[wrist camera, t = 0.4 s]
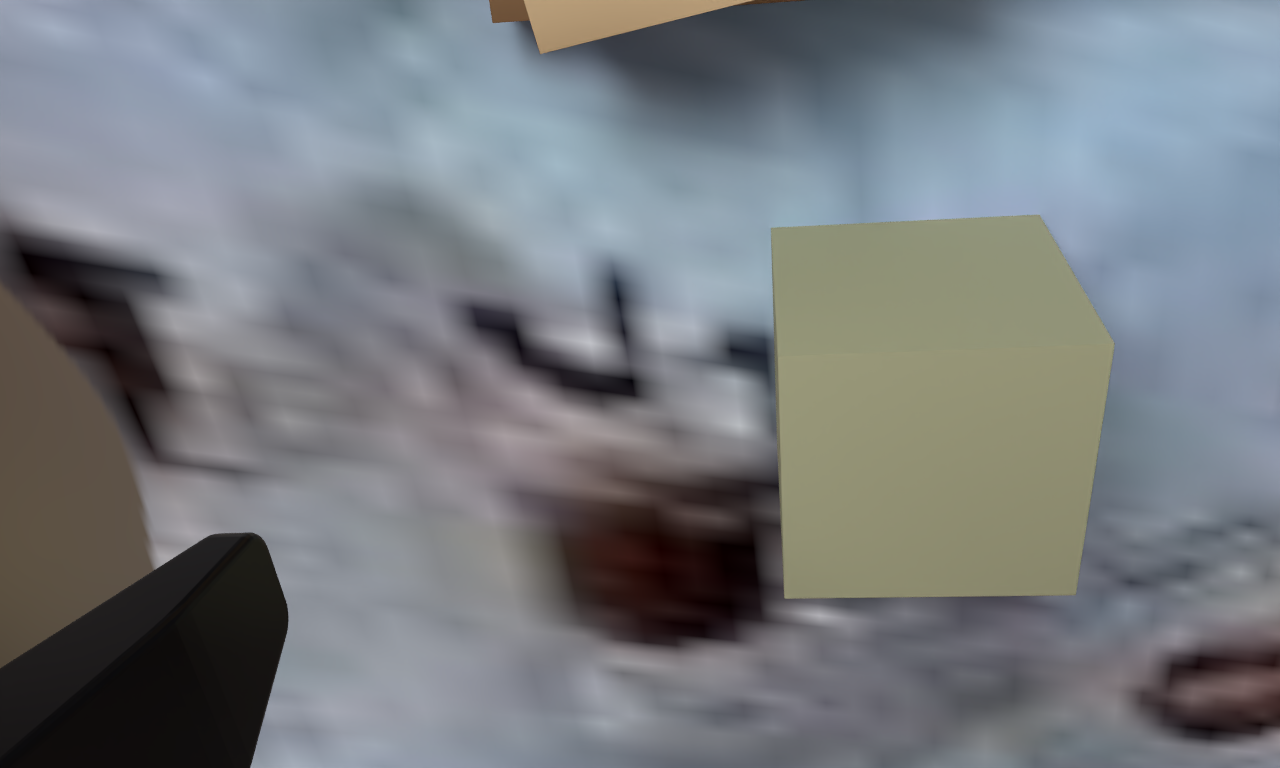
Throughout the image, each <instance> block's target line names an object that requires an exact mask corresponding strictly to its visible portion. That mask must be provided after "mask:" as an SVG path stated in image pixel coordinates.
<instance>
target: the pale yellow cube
mask: <svg viewBox="0 0 1280 768" xmlns="http://www.w3.org/2000/svg"><path fill="white" fill-rule="evenodd" d="M771 246H772V281H773V316H774V350H775V385H776V419H777V449H778V471H779V492H780V514H781V535H782V557H783V578H784V599H787V598H875V597H962V596H1049V595H1076V590H1077V583H1078V577H1079V570H1080V564H1081V558H1082V551H1083V545H1084V538H1085V532H1086V525H1087V519H1088V513H1089V506H1090V500H1091V493H1092V487H1093V480H1094V474H1095V468H1096V461H1097V455H1098V448H1099V442H1100V435H1101V429H1102V423H1103V416H1104V410H1105V403H1106V397H1107V390H1108V384H1109V378H1110V371H1111V365H1112V358H1113V352H1114V345H1115V343H1114V342H1113V340H1112V338H1111V336H1110V335H1109V333H1108V331H1107V330H1106V328H1105V326H1104V324H1103V323H1102V321H1101V319H1100V318H1099V316H1098V314H1097V313H1096V311H1095V309H1094V307H1093V306H1092V304H1091V302H1090V301H1089V299H1088V297H1087V295H1086V294H1085V292H1084V290H1083V289H1082V287H1081V285H1080V283H1079V282H1078V280H1077V278H1076V277H1075V275H1074V273H1073V271H1072V270H1071V268H1070V266H1069V265H1068V263H1067V261H1066V259H1065V258H1064V256H1063V254H1062V253H1061V251H1060V249H1059V247H1058V246H1057V244H1056V242H1055V241H1054V239H1053V237H1052V235H1051V234H1050V232H1049V230H1048V229H1047V227H1046V225H1045V223H1044V222H1043V220H1042V218H1041V217H1040V215H1022V216H1002V217H981V218H961V219H941V220H920V221H900V222H879V223H859V224H839V225H818V226H798V227H777V228H771Z"/></svg>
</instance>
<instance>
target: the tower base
mask: <svg viewBox="0 0 1280 768" xmlns="http://www.w3.org/2000/svg"><path fill="white" fill-rule="evenodd" d="M790 1H803V0H752V1H748V2H744V3H741V4H737V5H748V4H762V3H776V2H790ZM489 3H490V9H491V15H492V22H493V23H500V22H514V21H527V20H530V19H529V16H528V12H527V9H526V6H525V3H524V0H489ZM733 6H734V5H733Z"/></svg>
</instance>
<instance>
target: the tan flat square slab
mask: <svg viewBox="0 0 1280 768" xmlns="http://www.w3.org/2000/svg"><path fill="white" fill-rule="evenodd" d="M748 1H752V0H524V3H525V6H526V9H527V12H528V16H529V19H530V22H531V25H532V29H533V32H534V35H535V38H536V42H537V45H538V48H539V51H540V54H542V53H546V52H550V51H554V50H558V49H562V48H566V47H570V46H574V45H578V44H582V43H586V42H590V41H594V40H598V39H602V38H606V37H610V36H614V35H618V34H622V33H626V32H629V31H633V30H637V29H641V28H645V27H649V26H653V25H657V24H661V23H665V22H669V21H673V20H677V19H681V18H685V17H689V16H693V15H697V14H701V13H705V12H709V11H713V10H717V9H721V8H725V7H729V6H733V5H737V4H741V3H744V2H748Z"/></svg>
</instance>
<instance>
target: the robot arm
mask: <svg viewBox="0 0 1280 768" xmlns="http://www.w3.org/2000/svg"><path fill="white" fill-rule="evenodd" d="M287 630H288V608H287V604H286V600H285V597H284V594H283V591H282V588H281V585H280V583H279V580H278V577H277V574H276V571H275V568H274V565H273V562H272V559H271V556H270V553H269V550H268V548H267V545H266V543H265V541H264V540H263V539H262V538H261V537H260V536H259V535H257V534H255V533H221V534H213V535H210V536H208V537H206V538H204V539H203V540H201V541H200V542H198V543H197V544H195V545H193V546H192V547H190V548H189V549H187V550H186V551H184V552H182V553H181V554H179V555H178V556H176V557H175V558H173V559H171V560H170V561H168V562H167V563H165V564H164V565H162V566H160V567H159V568H157V569H156V570H154V571H153V572H151V573H149V574H148V575H146V576H145V577H143V578H142V579H140V580H138V581H137V582H135V583H134V584H132V585H131V586H129V587H128V588H126V589H124V590H123V591H121V592H119V593H118V594H116V595H115V596H113V597H112V598H110V599H109V600H107V601H105V602H104V603H102V604H101V605H99V606H97V607H96V608H94V609H93V610H91V611H90V612H88V613H87V614H85V615H83V616H82V617H80V618H79V619H77V620H76V621H74V622H72V623H71V624H69V625H68V626H66V627H64V628H63V629H61V630H60V631H58V632H57V633H55V634H53V635H52V636H51V637H49V638H47V639H46V640H44V641H42V642H41V643H40V644H38V645H36V646H35V647H33V648H32V649H30V650H28V651H27V652H25V653H24V654H22V655H20V656H19V657H17V658H16V659H14V660H13V661H11V662H9V663H8V664H6V665H5V666H3V667H2V668H0V768H250V766H251V763H252V759H253V756H254V752H255V748H256V745H257V741H258V737H259V734H260V730H261V726H262V723H263V719H264V715H265V712H266V708H267V704H268V701H269V697H270V693H271V690H272V686H273V682H274V679H275V675H276V671H277V668H278V664H279V660H280V657H281V653H282V649H283V646H284V642H285V638H286V634H287Z"/></svg>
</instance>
